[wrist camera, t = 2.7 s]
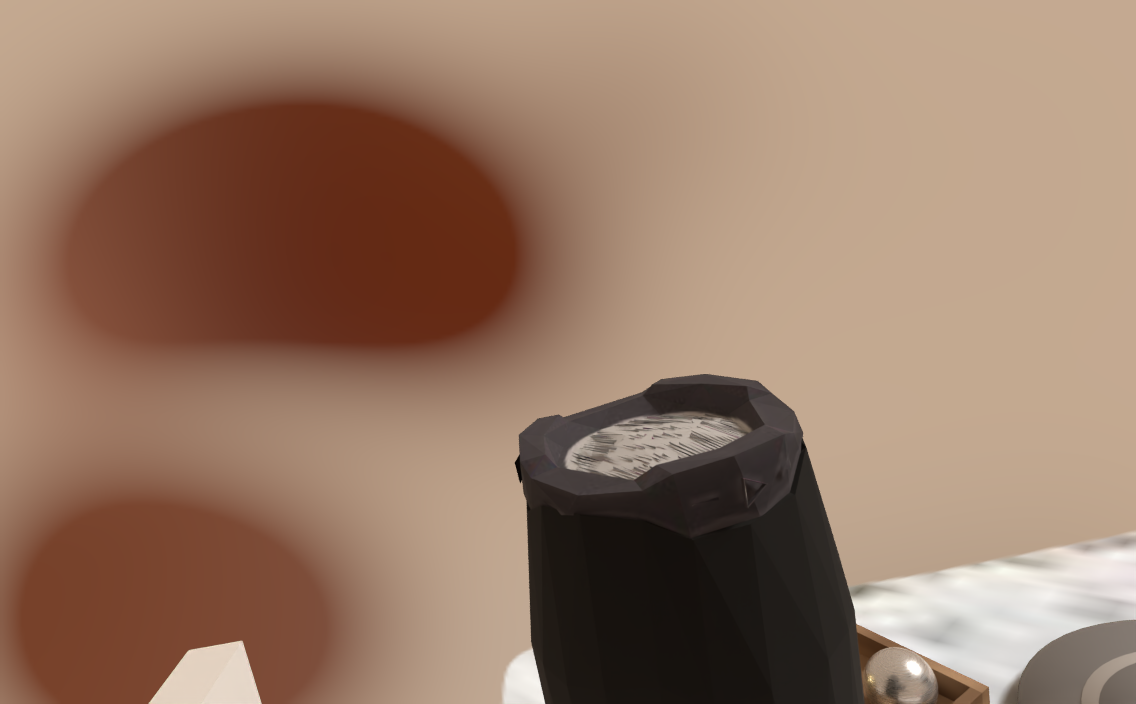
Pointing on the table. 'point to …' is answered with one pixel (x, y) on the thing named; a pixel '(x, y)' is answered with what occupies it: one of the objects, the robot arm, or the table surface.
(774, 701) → the portable speaker
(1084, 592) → the table surface
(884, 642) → the walnut dish
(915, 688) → the steel ball
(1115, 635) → the slate trivet
